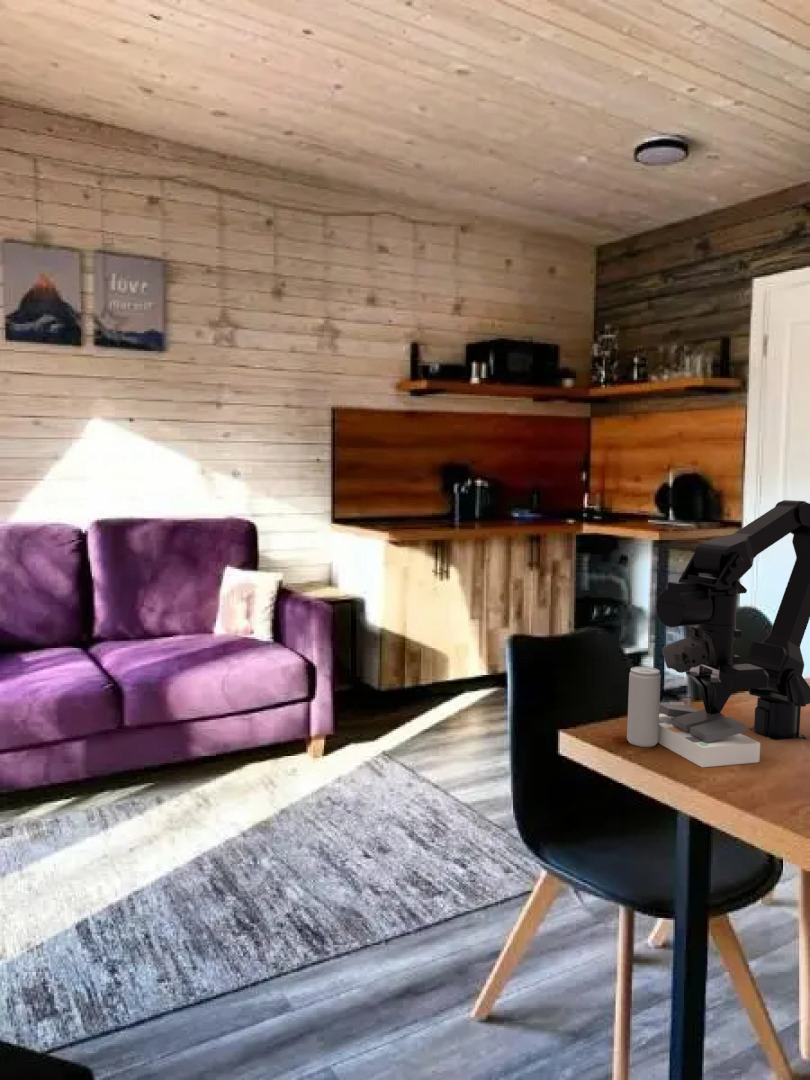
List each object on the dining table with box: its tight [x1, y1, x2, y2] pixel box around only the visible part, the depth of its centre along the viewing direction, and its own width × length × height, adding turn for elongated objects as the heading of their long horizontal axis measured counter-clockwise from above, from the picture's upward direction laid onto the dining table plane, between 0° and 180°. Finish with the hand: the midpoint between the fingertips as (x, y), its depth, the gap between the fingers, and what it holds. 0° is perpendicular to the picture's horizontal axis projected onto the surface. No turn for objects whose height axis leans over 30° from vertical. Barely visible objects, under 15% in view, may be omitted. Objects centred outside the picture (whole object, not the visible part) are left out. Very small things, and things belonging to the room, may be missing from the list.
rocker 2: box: [671, 708, 726, 733], centre depth 136 cm, size 7×4×1 cm, turn 106°
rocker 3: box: [690, 716, 747, 743], centre depth 131 cm, size 7×4×1 cm, turn 106°
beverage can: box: [626, 666, 662, 748], centre depth 137 cm, size 5×5×12 cm
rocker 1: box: [659, 702, 700, 717], centre depth 140 cm, size 7×4×1 cm, turn 106°
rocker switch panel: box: [657, 713, 761, 768], centre depth 136 cm, size 10×17×3 cm, turn 16°
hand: (712, 718), depth 136 cm, fingers closed, pressing on rocker 2
